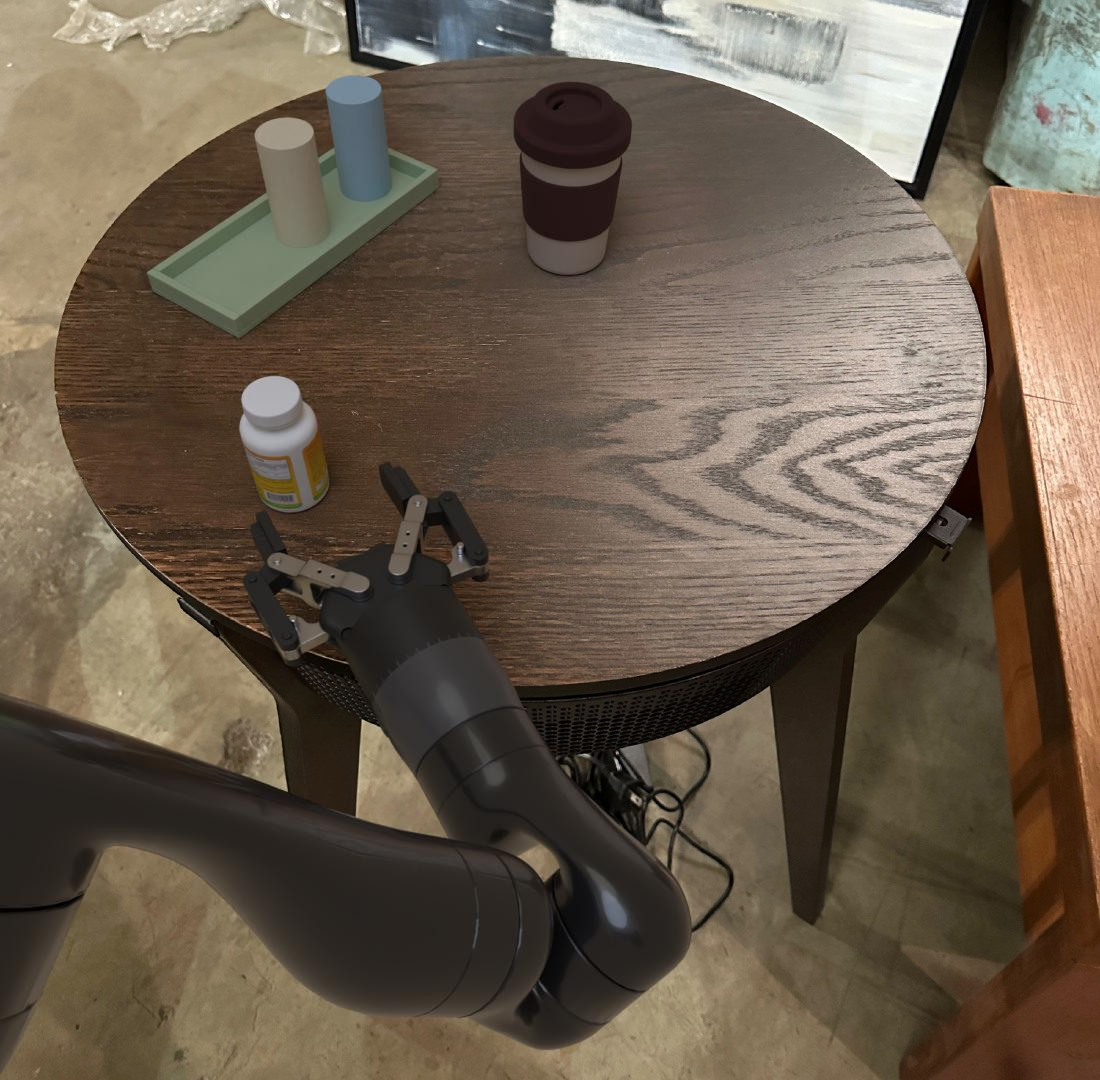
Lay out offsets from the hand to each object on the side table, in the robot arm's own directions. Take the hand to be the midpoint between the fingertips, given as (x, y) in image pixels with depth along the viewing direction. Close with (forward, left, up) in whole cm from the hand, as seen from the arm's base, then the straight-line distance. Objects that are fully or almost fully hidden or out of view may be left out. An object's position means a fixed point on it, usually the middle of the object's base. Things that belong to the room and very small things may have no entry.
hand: (324, 495), depth 67 cm
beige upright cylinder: (-1, +39, -8) cm, 40 cm away
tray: (-1, +39, -8) cm, 40 cm away
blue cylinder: (+5, +46, -8) cm, 46 cm away
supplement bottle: (-3, +8, -8) cm, 12 cm away
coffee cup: (+23, +33, -8) cm, 41 cm away
